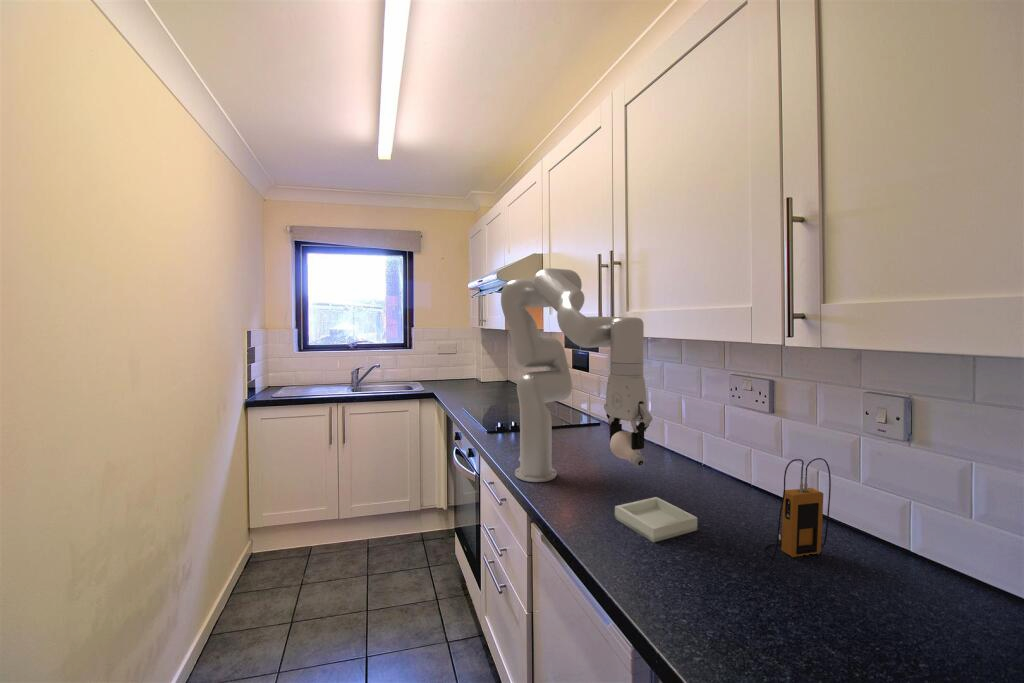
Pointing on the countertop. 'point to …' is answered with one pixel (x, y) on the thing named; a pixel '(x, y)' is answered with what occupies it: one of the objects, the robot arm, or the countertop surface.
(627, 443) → the light bulb
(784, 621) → the countertop surface
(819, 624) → the countertop surface
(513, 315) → the robot arm
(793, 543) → the multimeter
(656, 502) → the tray
